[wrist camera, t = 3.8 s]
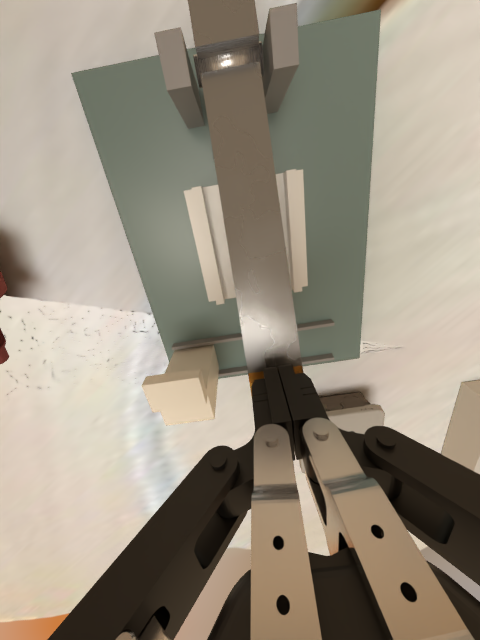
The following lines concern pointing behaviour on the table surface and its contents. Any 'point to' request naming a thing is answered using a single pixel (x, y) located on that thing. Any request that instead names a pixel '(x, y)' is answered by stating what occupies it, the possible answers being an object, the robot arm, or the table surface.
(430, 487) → the robot arm
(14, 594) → the table surface
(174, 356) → the cream block
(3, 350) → the mechanical component
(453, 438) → the tray
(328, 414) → the electrical switch
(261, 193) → the lever
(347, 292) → the board
